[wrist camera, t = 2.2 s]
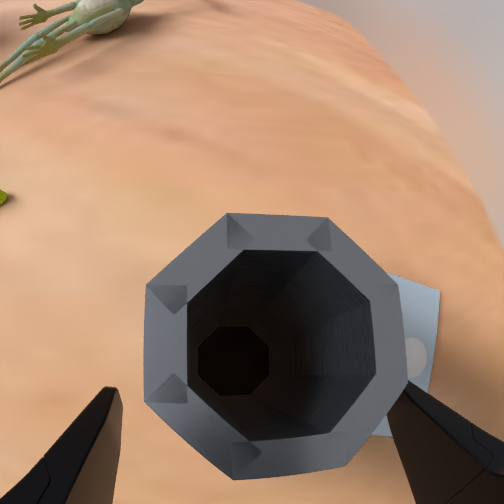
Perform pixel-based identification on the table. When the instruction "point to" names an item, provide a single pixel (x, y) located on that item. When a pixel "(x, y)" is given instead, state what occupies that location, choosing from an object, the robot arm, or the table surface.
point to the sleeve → (276, 344)
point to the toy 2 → (67, 28)
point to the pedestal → (416, 334)
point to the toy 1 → (2, 197)
